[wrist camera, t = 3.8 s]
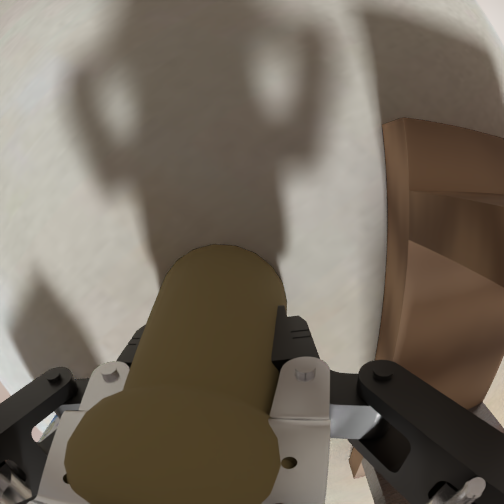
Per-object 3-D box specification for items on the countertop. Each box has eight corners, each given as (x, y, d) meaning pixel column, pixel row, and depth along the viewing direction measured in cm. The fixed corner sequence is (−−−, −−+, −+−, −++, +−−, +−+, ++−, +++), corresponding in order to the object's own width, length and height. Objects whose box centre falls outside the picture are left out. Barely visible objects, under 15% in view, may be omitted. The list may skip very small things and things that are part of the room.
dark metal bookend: (366, 448, 14) (412, 589, 2) (482, 401, 13) (547, 492, 2) (361, 462, 14) (399, 591, 2) (473, 417, 14) (531, 505, 2)
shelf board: (382, 124, 11) (403, 117, 9) (512, 148, 10) (532, 148, 9) (348, 461, 17) (354, 478, 15) (452, 425, 17) (461, 438, 15)
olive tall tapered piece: (175, 359, 14) (110, 549, 3) (149, 250, 12) (-39, 423, 2) (288, 353, 14) (327, 565, 3) (282, 237, 12) (405, 494, 1)
